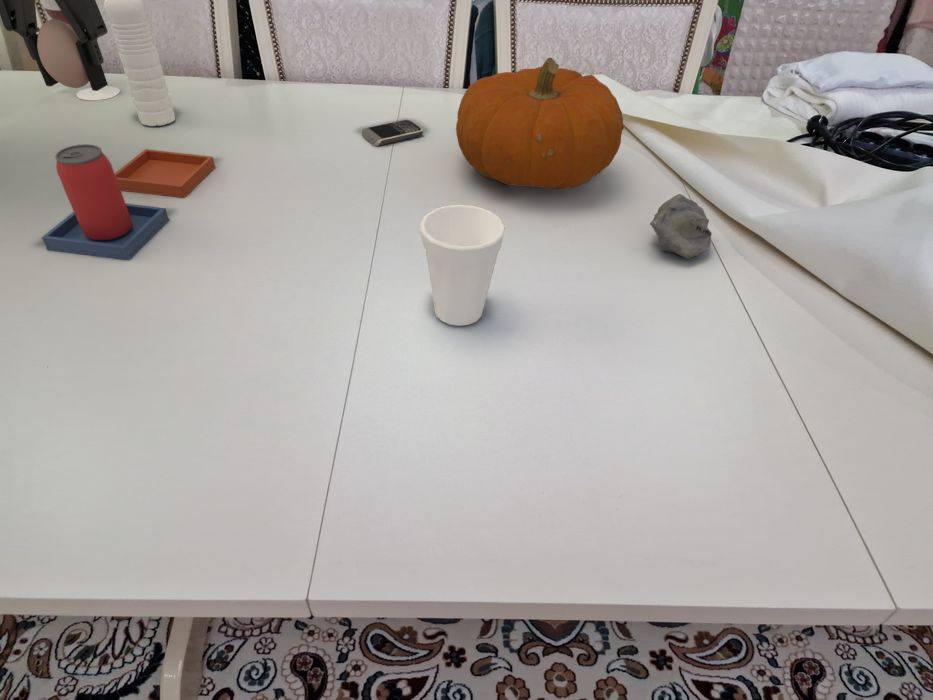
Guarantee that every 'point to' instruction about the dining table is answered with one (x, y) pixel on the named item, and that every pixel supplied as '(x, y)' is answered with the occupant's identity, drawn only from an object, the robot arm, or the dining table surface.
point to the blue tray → (143, 228)
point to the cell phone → (392, 132)
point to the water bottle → (140, 61)
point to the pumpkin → (539, 127)
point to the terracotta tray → (164, 173)
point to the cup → (461, 259)
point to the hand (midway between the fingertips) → (77, 85)
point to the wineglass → (88, 93)
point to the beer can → (93, 192)
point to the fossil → (682, 227)
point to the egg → (61, 53)
